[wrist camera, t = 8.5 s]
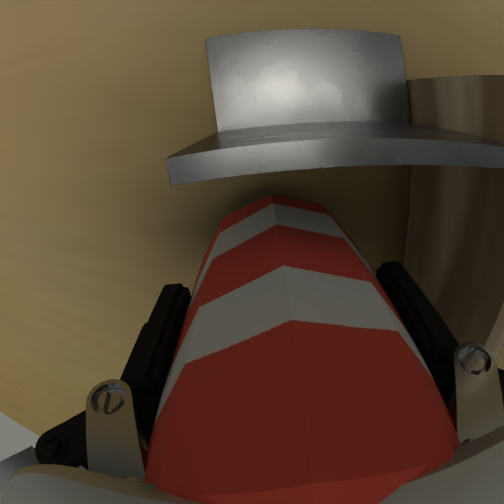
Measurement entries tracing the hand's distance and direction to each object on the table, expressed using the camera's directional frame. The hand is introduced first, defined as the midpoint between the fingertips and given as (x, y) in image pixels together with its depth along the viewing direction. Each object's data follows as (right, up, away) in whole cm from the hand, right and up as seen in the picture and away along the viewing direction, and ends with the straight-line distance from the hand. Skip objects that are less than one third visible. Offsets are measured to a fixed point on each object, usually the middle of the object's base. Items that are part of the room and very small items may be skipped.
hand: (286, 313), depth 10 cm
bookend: (+2, +11, +3) cm, 11 cm away
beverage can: (0, +2, +3) cm, 4 cm away
